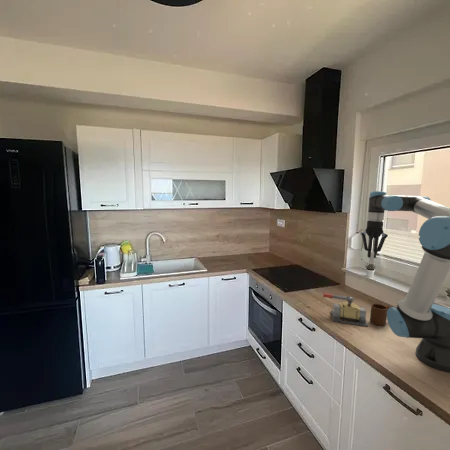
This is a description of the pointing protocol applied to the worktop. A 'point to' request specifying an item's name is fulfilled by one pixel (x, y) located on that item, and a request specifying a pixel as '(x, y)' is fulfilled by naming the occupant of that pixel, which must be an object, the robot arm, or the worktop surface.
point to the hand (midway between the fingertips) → (370, 263)
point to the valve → (349, 314)
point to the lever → (338, 297)
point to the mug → (379, 314)
